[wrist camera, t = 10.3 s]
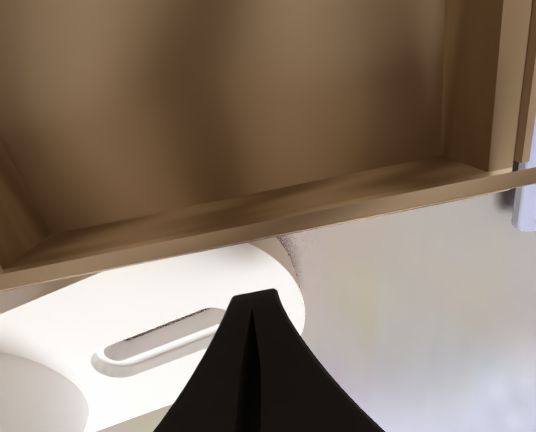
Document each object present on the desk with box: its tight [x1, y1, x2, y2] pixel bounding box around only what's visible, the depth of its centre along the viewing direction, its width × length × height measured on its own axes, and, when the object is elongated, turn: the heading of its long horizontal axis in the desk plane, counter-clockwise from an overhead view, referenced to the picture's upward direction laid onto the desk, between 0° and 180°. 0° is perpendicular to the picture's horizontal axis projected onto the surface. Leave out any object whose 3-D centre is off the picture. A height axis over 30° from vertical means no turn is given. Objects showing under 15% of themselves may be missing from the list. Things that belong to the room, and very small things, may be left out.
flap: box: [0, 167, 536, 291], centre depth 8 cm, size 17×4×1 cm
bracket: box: [0, 204, 305, 432], centre depth 13 cm, size 20×9×7 cm, turn 113°
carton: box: [0, 0, 536, 292], centre depth 9 cm, size 18×13×3 cm
